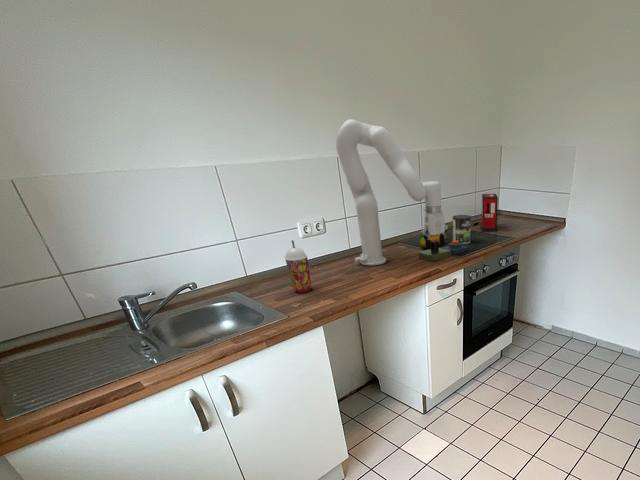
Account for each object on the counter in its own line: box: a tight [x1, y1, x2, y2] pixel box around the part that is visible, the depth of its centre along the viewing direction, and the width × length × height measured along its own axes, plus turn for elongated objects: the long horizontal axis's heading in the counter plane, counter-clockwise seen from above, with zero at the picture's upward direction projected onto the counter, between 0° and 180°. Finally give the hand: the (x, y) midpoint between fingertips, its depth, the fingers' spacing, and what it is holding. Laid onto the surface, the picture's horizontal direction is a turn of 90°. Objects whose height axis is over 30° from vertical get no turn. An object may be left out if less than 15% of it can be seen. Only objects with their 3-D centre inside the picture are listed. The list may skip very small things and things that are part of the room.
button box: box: [442, 242, 469, 256], centre depth 203 cm, size 11×9×4 cm
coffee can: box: [452, 214, 472, 245], centre depth 218 cm, size 10×10×14 cm
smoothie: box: [284, 239, 312, 293], centre depth 152 cm, size 8×8×20 cm
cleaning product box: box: [481, 193, 499, 232], centre depth 246 cm, size 16×9×20 cm, turn 178°
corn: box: [419, 234, 447, 249], centre depth 213 cm, size 7×8×20 cm
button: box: [451, 239, 459, 245], centre depth 202 cm, size 4×4×2 cm
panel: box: [418, 247, 452, 263], centre depth 194 cm, size 13×10×3 cm
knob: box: [430, 240, 440, 252], centre depth 192 cm, size 4×4×5 cm
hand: (435, 245), depth 192 cm, fingers open, 9 cm apart
